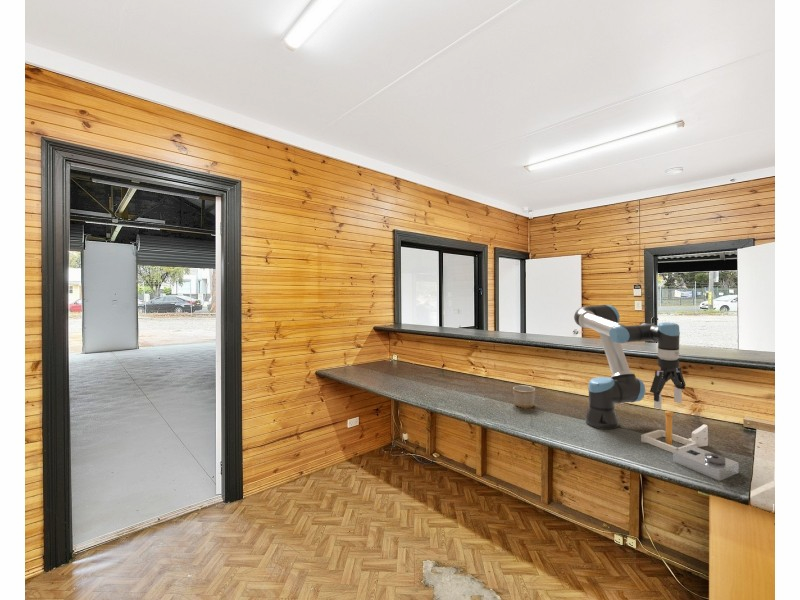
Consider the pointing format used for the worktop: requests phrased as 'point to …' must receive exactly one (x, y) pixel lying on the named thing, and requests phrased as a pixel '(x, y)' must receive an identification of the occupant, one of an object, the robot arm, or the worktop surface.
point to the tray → (659, 433)
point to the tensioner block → (706, 462)
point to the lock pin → (669, 427)
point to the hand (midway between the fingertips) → (667, 405)
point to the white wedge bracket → (700, 436)
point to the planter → (524, 396)
